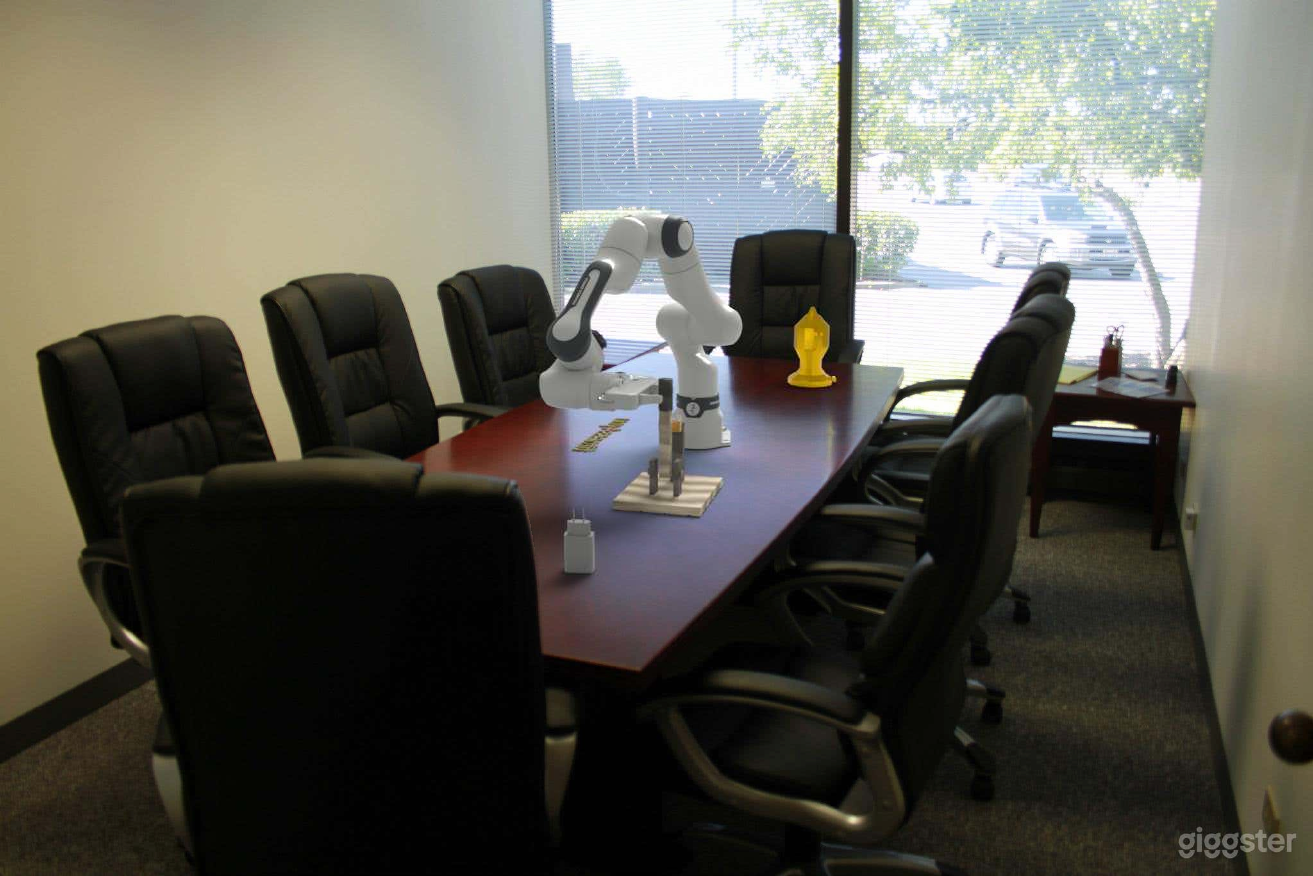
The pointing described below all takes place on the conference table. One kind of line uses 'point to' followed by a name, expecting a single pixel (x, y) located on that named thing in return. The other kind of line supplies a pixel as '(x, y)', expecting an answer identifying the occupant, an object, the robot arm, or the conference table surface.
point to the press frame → (669, 487)
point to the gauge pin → (677, 423)
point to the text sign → (610, 429)
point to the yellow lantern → (811, 351)
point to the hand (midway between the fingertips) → (667, 394)
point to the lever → (665, 427)
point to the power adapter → (579, 546)
